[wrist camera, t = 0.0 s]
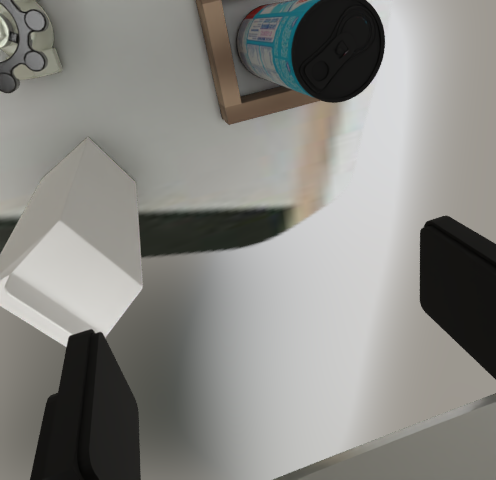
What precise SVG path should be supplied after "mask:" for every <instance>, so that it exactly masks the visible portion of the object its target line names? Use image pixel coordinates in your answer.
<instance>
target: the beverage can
mask: <svg viewBox="0 0 496 480" xmlns="http://www.w3.org/2000/svg"><path fill="white" fill-rule="evenodd" d="M237 47H238V53H239V56H240V59H241V61H242V63H243V64H244V66H245V67H246V68H247V69H248V70H249V71H250V72H251V73H252V74H254V75H256V76H258V77H261V78H263V79H266V80H269V81H271V82H274V83H276V84H279V85H281V86H284V87H286V88H289V89H292V90H294V91H297V92H300V93H302V94H305V95H308V96H311V97H314V98H316V99H319V100H321V101H325V102H332V103H335V102H342V101H346V100H349V99H351V98H353V97H355V96H357V95H358V94H359V93H361V92H362V91H363V90H364V89H365V88H366V87H367V86H368V85H369V84H370V83H371V81H372V80H373V79H374V77H375V76H376V74H377V72H378V70H379V68H380V65H381V62H382V59H383V54H384V48H385V36H384V29H383V25H382V22H381V19H380V17H379V15H378V14H377V12H376V10H375V9H374V8H373V7H372V5H371V4H370V3H368V2H367V1H366V0H293V1H287V2H281V3H275V4H267V5H263V6H260V7H258V8H256V9H254V10H253V11H251V12H250V13H249V14H248V15H247V16H246V18H245V19H244V21H243V22H242V24H241V26H240V29H239V33H238V37H237Z"/></svg>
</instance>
